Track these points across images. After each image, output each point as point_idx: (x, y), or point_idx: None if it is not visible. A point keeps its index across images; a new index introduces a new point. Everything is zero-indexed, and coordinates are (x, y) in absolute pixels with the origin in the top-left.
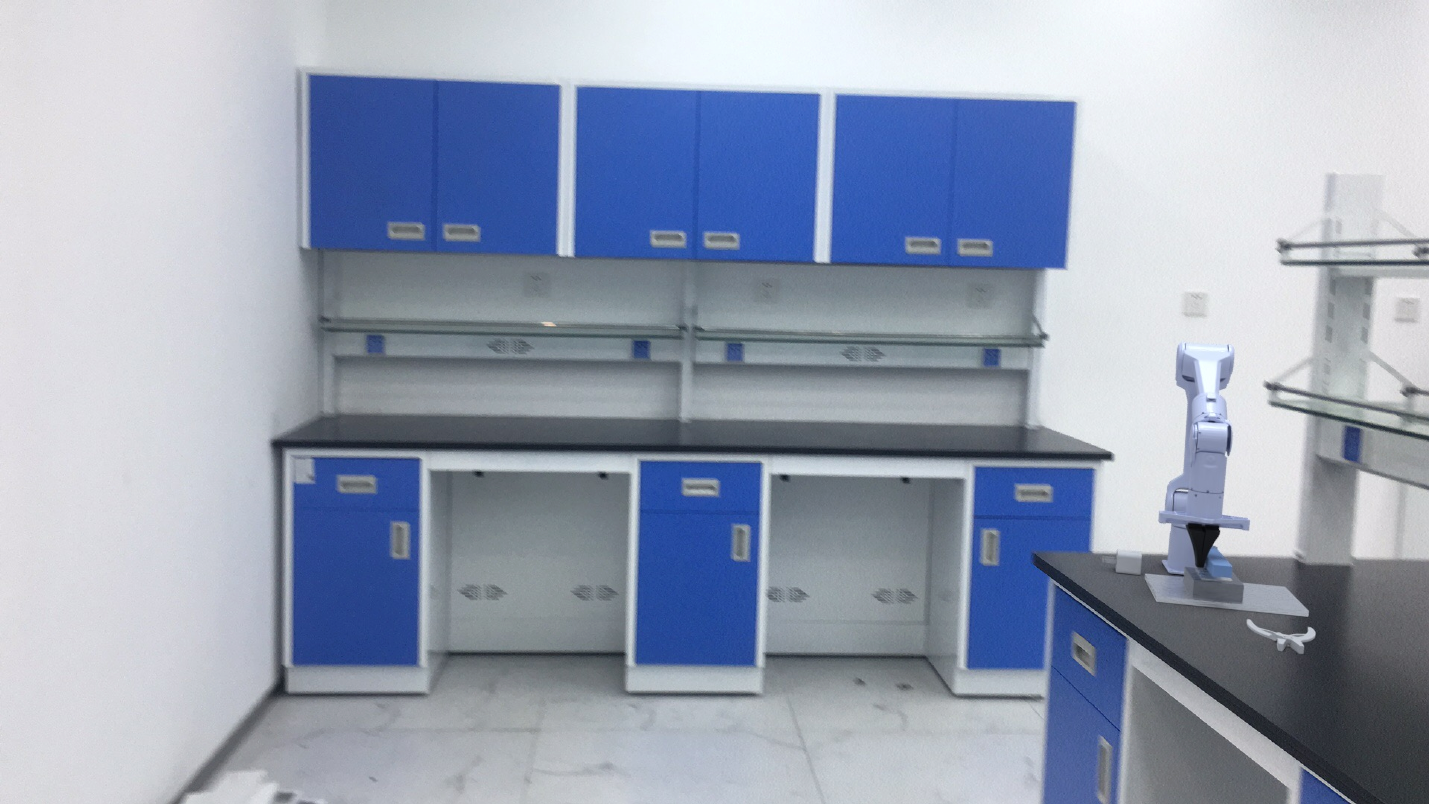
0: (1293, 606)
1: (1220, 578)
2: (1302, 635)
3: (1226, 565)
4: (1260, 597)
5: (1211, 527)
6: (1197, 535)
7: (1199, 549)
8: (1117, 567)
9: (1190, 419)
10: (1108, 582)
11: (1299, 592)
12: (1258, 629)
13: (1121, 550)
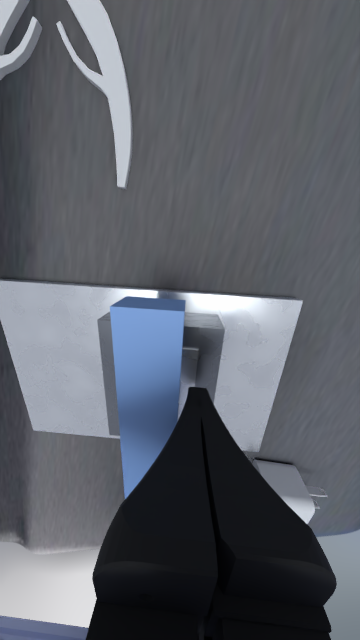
0: (18, 306)
1: None
2: (2, 58)
3: (131, 319)
4: (76, 354)
5: (151, 627)
6: (261, 511)
7: (216, 433)
8: (297, 473)
9: None
10: (337, 410)
11: (20, 426)
12: (110, 68)
13: None
